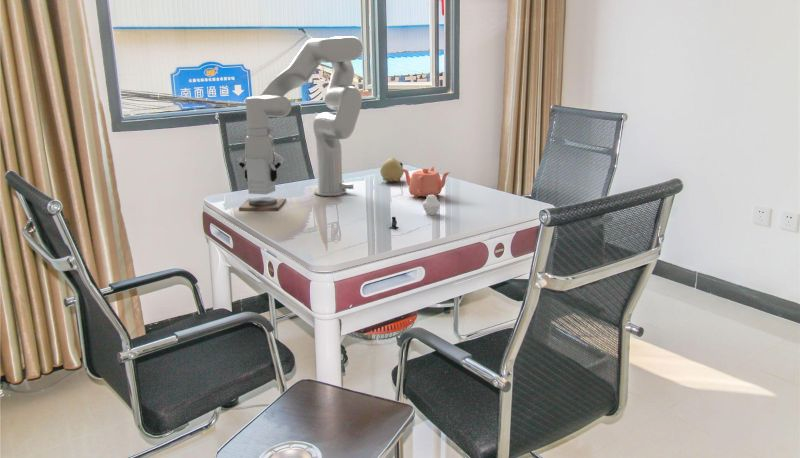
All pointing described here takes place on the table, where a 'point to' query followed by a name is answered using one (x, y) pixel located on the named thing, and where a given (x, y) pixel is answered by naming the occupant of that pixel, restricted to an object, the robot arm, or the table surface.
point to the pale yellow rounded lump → (392, 170)
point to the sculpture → (394, 224)
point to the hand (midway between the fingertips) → (261, 180)
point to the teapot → (425, 182)
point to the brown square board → (263, 204)
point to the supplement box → (259, 176)
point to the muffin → (431, 205)
